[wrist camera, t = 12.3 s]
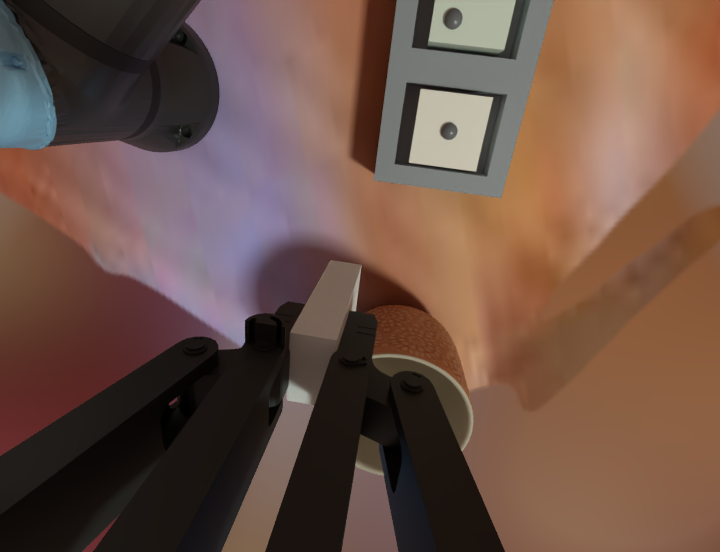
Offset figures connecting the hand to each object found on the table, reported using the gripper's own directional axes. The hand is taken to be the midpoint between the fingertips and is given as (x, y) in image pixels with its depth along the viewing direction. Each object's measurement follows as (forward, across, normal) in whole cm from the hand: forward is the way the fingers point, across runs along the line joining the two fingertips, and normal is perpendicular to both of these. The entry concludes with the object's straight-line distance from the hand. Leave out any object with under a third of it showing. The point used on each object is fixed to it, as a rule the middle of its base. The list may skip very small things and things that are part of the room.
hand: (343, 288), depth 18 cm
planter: (+31, +5, -22) cm, 38 cm away
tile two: (+29, +6, +18) cm, 35 cm away
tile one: (+29, +6, +7) cm, 31 cm away
